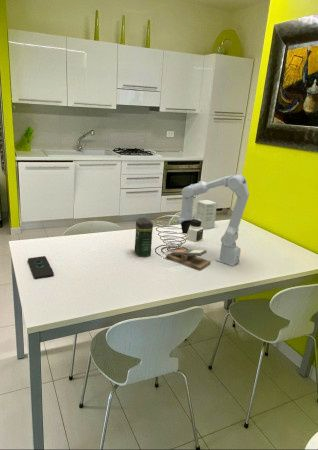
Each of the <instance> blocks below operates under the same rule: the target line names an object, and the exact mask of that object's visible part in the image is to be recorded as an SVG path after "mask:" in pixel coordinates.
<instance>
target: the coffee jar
mask: <svg viewBox="0 0 318 450" xmlns="http://www.w3.org/2000/svg"><path fill="white" fill-rule="evenodd" d="M153 229H154V223H153V222H152V220H150V219H148V218H147V217H138V218H137V219H136V221H135V236H134V237H135V238H134V239H135V240H134V253H135V254H136V255H137V256H138V257H142V258H143V257H144V258H145V257H149V256H151V254H152V242H153V240H152V239H153Z"/></svg>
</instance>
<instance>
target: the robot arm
mask: <svg viewBox="0 0 318 450" xmlns="http://www.w3.org/2000/svg"><path fill="white" fill-rule="evenodd" d="M247 183H248V181H247V179H246V177H245V176H244V175H243V174H240V173H236V174H231V175H227V176H226V175H225V176H223V177H220V178H218V179H215V180H212V181H211V180H210V181H209V182H206V181H202V180H200V181H198V182H197V183H190V185H188V186H185V187H183V188H182V190H181V196H182V201H181V210H180V211H181V212H180V214H179V217H178V218H177V219H176V223H177V224H180V226H181V231H182V234H185V235H187V232H188V229H189V227H190V225H191V223H192V219H196V214H194V213H193V210H194V208H193V207H194V199H195V196H198V195H199V196H200V195H203V194H205V193H208V191H209V189H213V188H217V187H221V186H223V187H225V188H229V190H230V191H232V192H233V193H234V194H235V195H236V197H237V198H236V201H235V203H234V207H233V210H232V214H231V217H230V220H229V222H228V226H227V228H226V230H225V232H224V234H223V235H222V236H221V238H220V242H221V244H220V245H221V246H220V254H219V257H218V258H216V261H217V262H219V263H222V264H225V265H227V266H232V267H234V266H235V265H237V264H238V263H239V262H240V257H241V247H239V246H238V245H237V242H236V241H237V240H238V238H239V226H240V224H241V222H242V221H241V220H242V217H243V215H244V212H245V208H246V206H247V202H248V200H249V196H250V191H249V188H248V184H247Z"/></svg>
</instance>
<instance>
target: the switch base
mask: <svg viewBox="0 0 318 450" xmlns="http://www.w3.org/2000/svg"><path fill="white" fill-rule="evenodd" d="M171 253H172V252H170V253H168V254H166V256H165V258H166V259H168V260H170V261H173V262H175V263H178V264H180V265H184V266H186V267H189V268H191V269H194V270H197V271H202V270H204V269H205V268H207V267H208V266H210V265H211V261H210V260H208V259H205V258H203V257H200V256H187V255H184V254H181V255H171Z"/></svg>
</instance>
